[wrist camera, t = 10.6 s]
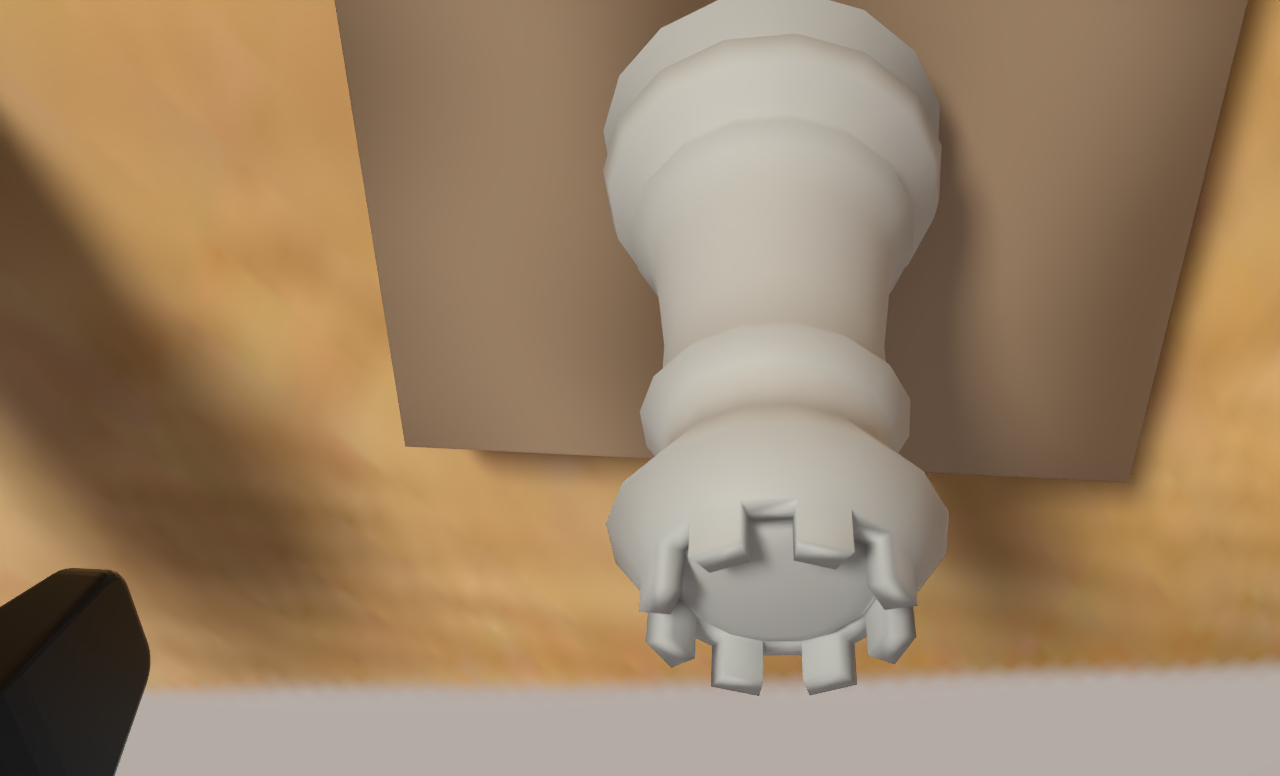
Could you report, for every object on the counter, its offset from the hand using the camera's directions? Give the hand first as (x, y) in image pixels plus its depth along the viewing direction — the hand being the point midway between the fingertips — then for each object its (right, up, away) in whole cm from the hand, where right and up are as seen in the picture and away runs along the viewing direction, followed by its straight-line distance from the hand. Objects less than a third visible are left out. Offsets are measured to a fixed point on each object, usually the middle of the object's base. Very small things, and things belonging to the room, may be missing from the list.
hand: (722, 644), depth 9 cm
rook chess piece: (+1, +6, +8) cm, 10 cm away
